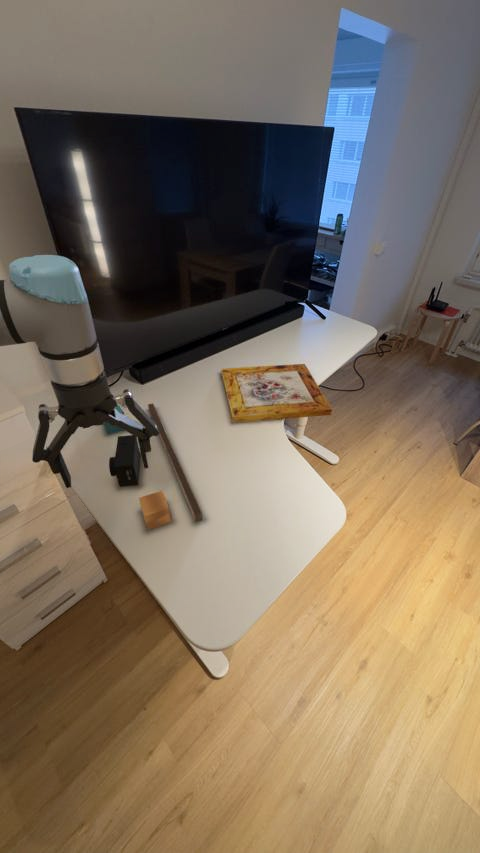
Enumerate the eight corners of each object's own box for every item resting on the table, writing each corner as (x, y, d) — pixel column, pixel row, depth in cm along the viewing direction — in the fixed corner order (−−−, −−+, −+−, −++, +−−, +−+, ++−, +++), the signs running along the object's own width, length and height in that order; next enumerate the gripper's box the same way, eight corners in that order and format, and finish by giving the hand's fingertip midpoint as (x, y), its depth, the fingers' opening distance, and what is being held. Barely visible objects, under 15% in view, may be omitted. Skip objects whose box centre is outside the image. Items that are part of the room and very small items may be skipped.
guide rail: (195, 522, 73) (194, 515, 71) (149, 411, 102) (147, 404, 100) (202, 519, 74) (201, 512, 72) (154, 410, 102) (153, 403, 101)
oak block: (147, 530, 71) (144, 516, 68) (142, 512, 74) (138, 497, 71) (171, 522, 73) (168, 508, 70) (164, 504, 76) (162, 490, 73)
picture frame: (332, 409, 102) (232, 417, 97) (330, 415, 103) (232, 422, 99) (304, 363, 122) (221, 368, 118) (303, 369, 123) (221, 373, 119)
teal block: (107, 434, 93) (103, 420, 90) (105, 423, 97) (101, 409, 94) (126, 429, 95) (123, 415, 92) (123, 419, 98) (119, 405, 95)
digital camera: (118, 456, 87) (112, 436, 83) (140, 454, 88) (135, 434, 83) (114, 488, 79) (107, 467, 75) (138, 485, 80) (133, 464, 76)
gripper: (157, 350, 56) (169, 444, 70) (-18, 375, 49) (34, 475, 62) (168, 372, 51) (179, 469, 65) (-27, 404, 43) (32, 507, 57)
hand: (108, 472), depth 64 cm, fingers open, 13 cm apart
